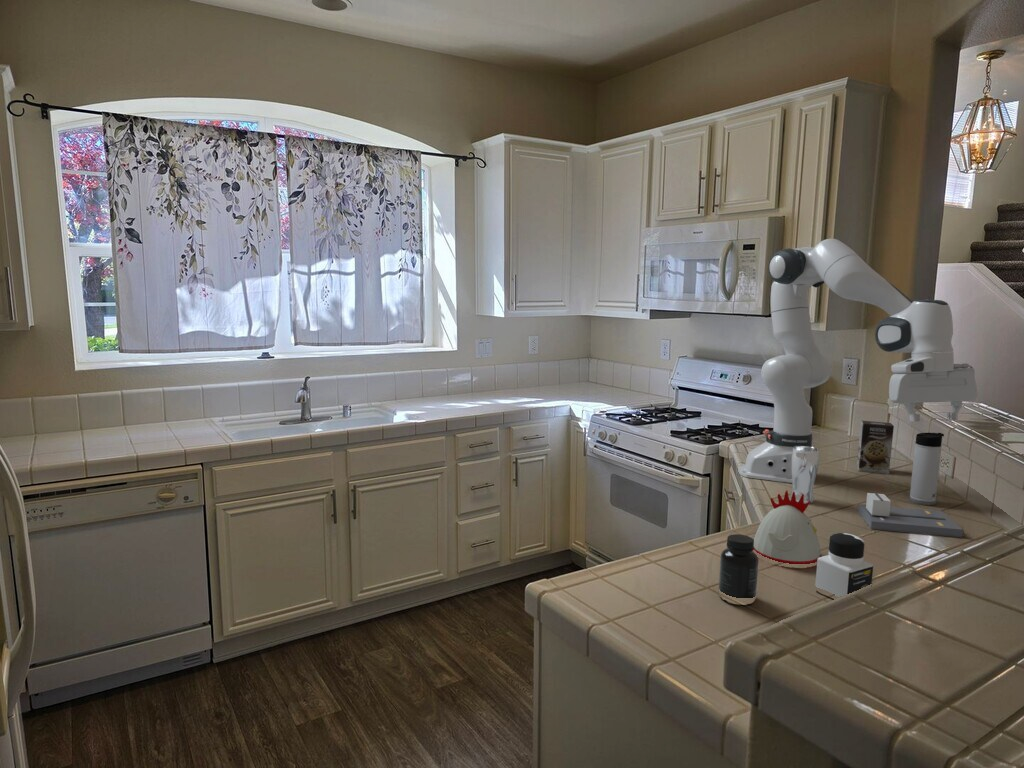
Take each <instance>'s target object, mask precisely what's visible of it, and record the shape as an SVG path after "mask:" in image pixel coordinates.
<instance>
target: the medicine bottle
mask: <svg viewBox="0 0 1024 768" xmlns="http://www.w3.org/2000/svg"><path fill="white" fill-rule="evenodd" d="M865 544H866V543H865V541H864V539H862V538H861V537H859V536H857V535H854V534H852V533H845V532H837V533H833V534H832V535H830V536H829V542H828V545H829V546H828V554H827V555H822V556H820V557H819V558H818V560H817V565H816V574H815V586H816V587H817V588H820V589H823V590H826V591H828V592H830V593H832V594H835V596H838V597H840V596H844V595H847V594H849V593H852V592H854V591H857V590H859V589H861V588H863V587H866V586H868V585H870V584H872V583H873V574H874V564H873V563H870V562H868V561H865V560H864V554H865ZM872 585H873V584H872ZM815 586H814V587H815Z"/></svg>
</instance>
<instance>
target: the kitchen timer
mask: <svg viewBox="0 0 1024 768" xmlns="http://www.w3.org/2000/svg"><path fill="white" fill-rule="evenodd" d="M789 496H790V495H789V492H788V490H787V489H786V490H785V493H784V497H783V498H782V496H781V494H780V493H778V494H777V500H778V503H776V502H775V500H774V498H773V497H770V502H771V505H772V507H773V508H772V509H770V511H768V512H767V514H766V515H765V516H764V518H763V519H762V521H761V522H760V524H759V526H758V528H757V531H756V532H755V536H754V538H753V540H754V550H755V551H756V552H757V553H759V554H761V555H762V556H764V557H767V558H769V559H772V560H775V561H778V562H783V563H789V564H810V563H815V562H817V560H818V558H819V557H821V546H820V542H819V538H818V535H817V528H816V527H815V526H814V524H813V522H812V521H811V519H810V517H809V516H808V515H807V513H806V512H805V511H806V509H808V507H809V506H810V504H811V503H810V501H811V500H810V501H809V502H807V503H804V494H802V496H801V498H800V500H799V502H797V501H796V496H795V492H793V494H792V498H791V499H790V497H789Z"/></svg>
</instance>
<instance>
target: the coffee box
mask: <svg viewBox="0 0 1024 768" xmlns="http://www.w3.org/2000/svg"><path fill="white" fill-rule="evenodd" d="M894 428H895V427H894V425H893V423H892V422H883V421H872V420H871V421H870V420H861V421H860V430H859V431H860V432H859V439H858V448H857V449H858V450H857V459H856V468H857V471H858V472H867V473H875V474H883V475H886V474H887V475H889V474H890V468H891V467H890V465H891V458H892V448H893V439H894V438H893V437H894V430H895V429H894Z"/></svg>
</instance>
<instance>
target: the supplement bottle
mask: <svg viewBox="0 0 1024 768" xmlns="http://www.w3.org/2000/svg"><path fill="white" fill-rule="evenodd" d="M726 539H727V540H726V548H725V549H723V550H722V551H721V553H720V561H719V562H720V563H719V578H718V579H719V580H718V590H719V589H720V591H721V592H723V593H725V594H726V595H729V596H732V597H736V598H753V597H755V596H756V597H757V587H758V576H759V575H758V572H759V558H758V557H757V555H756V554H755V553H754V552H753V550H754V538H753V537H751V536H748V535H745V534H738V533H737V534H736V533H735V534H730V535H728V536H727V538H726Z"/></svg>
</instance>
